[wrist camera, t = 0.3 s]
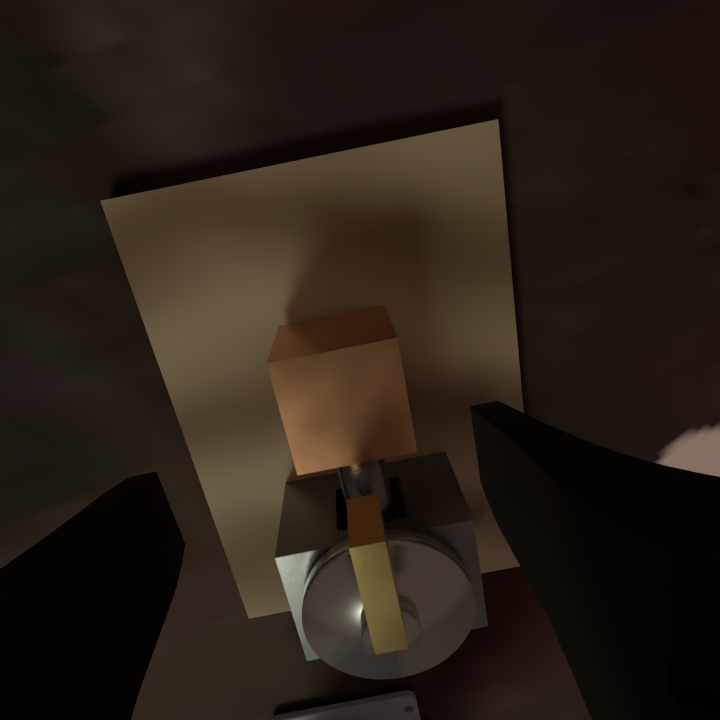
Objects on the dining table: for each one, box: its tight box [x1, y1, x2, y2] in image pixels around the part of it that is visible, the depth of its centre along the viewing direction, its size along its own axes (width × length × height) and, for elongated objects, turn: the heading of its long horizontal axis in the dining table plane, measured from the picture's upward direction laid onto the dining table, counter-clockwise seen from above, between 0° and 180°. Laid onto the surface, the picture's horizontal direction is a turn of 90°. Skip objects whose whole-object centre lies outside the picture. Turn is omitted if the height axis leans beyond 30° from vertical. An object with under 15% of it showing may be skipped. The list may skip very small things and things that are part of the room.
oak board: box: [101, 119, 524, 618], centre depth 21 cm, size 20×14×1 cm
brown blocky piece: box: [267, 305, 417, 522], centre depth 19 cm, size 12×4×4 cm, turn 11°
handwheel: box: [302, 493, 476, 679], centre depth 17 cm, size 8×6×3 cm
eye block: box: [275, 451, 488, 661], centre depth 21 cm, size 5×7×5 cm
